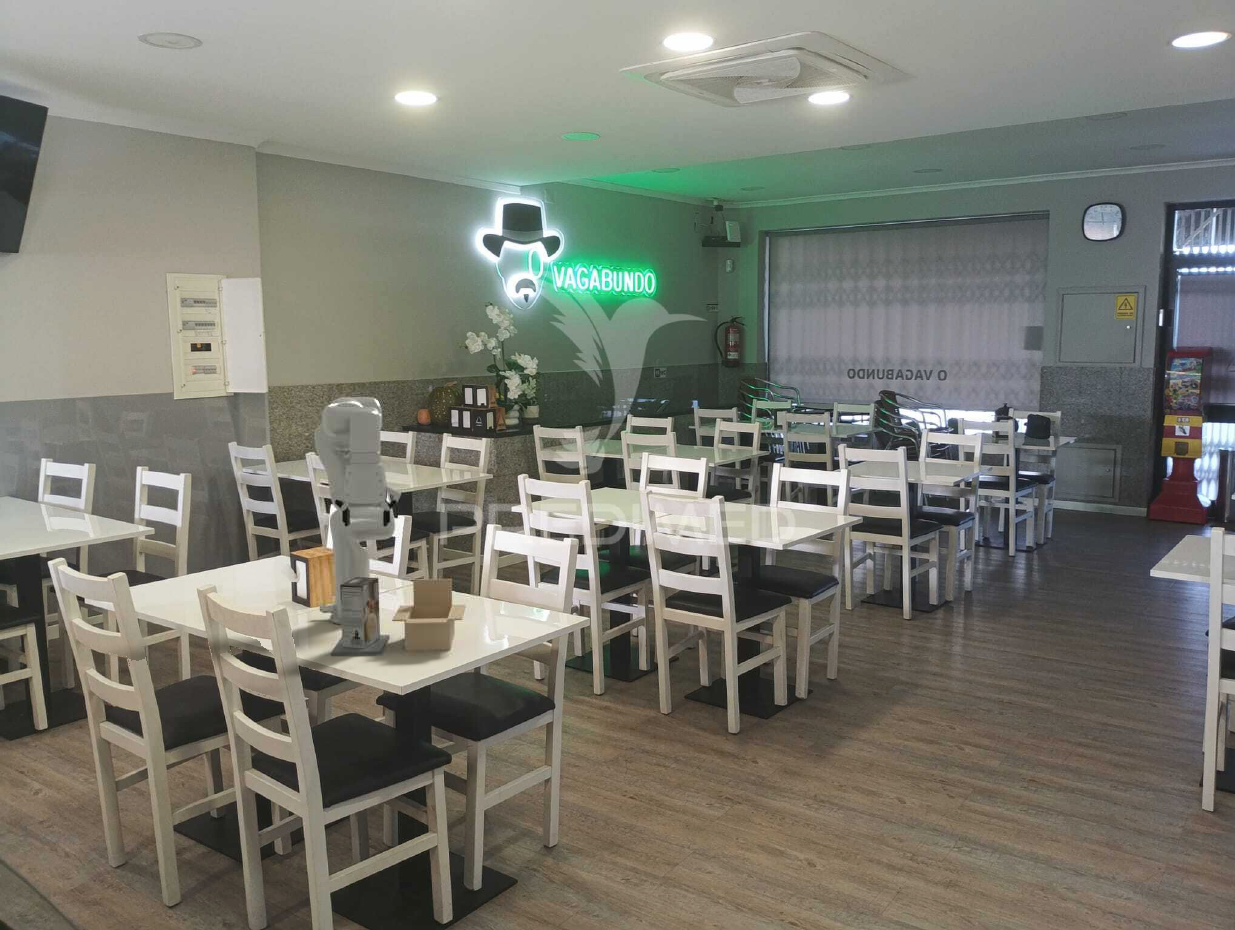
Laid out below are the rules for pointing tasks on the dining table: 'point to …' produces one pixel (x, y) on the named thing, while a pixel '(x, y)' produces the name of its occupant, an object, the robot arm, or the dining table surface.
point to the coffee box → (360, 612)
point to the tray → (372, 649)
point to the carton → (430, 616)
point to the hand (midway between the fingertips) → (366, 525)
